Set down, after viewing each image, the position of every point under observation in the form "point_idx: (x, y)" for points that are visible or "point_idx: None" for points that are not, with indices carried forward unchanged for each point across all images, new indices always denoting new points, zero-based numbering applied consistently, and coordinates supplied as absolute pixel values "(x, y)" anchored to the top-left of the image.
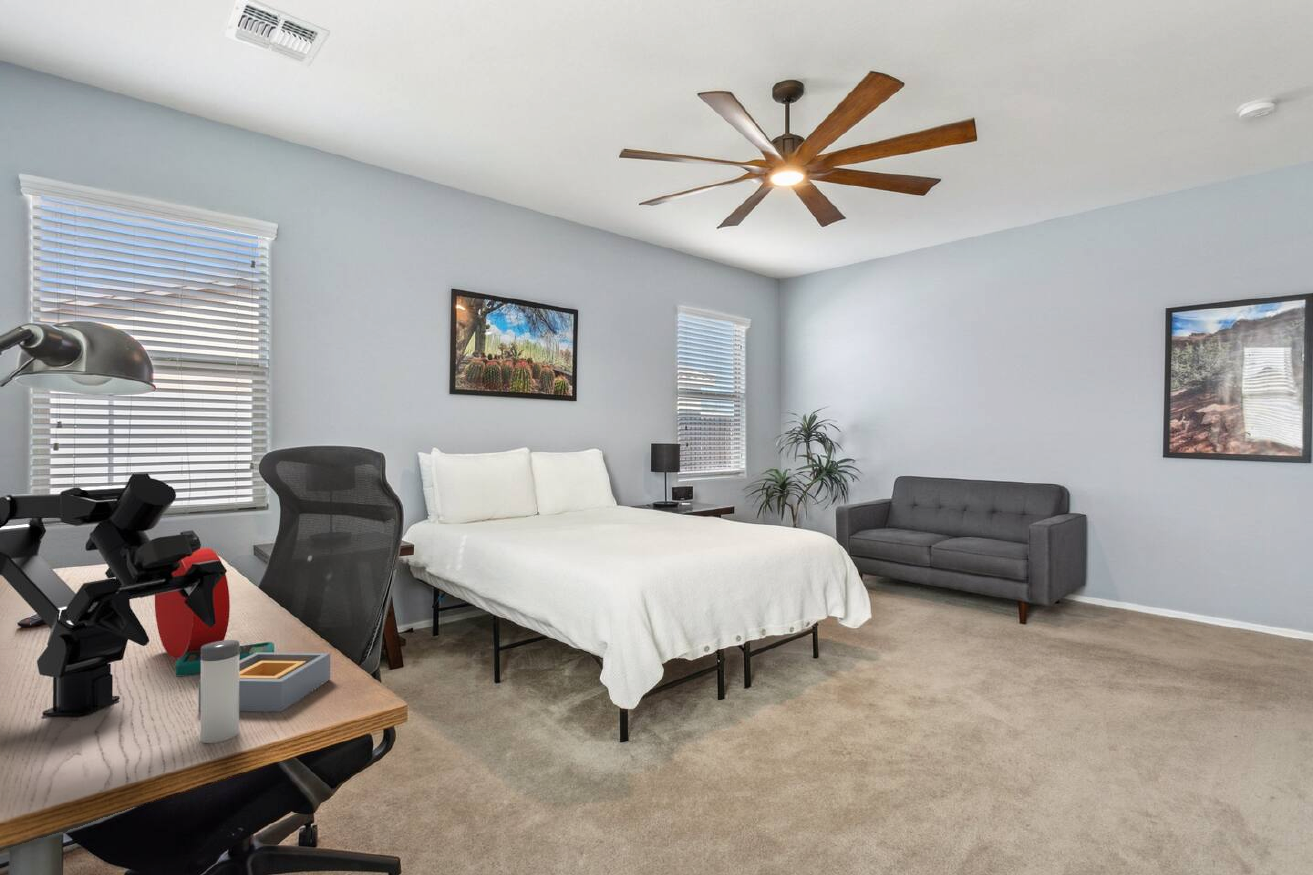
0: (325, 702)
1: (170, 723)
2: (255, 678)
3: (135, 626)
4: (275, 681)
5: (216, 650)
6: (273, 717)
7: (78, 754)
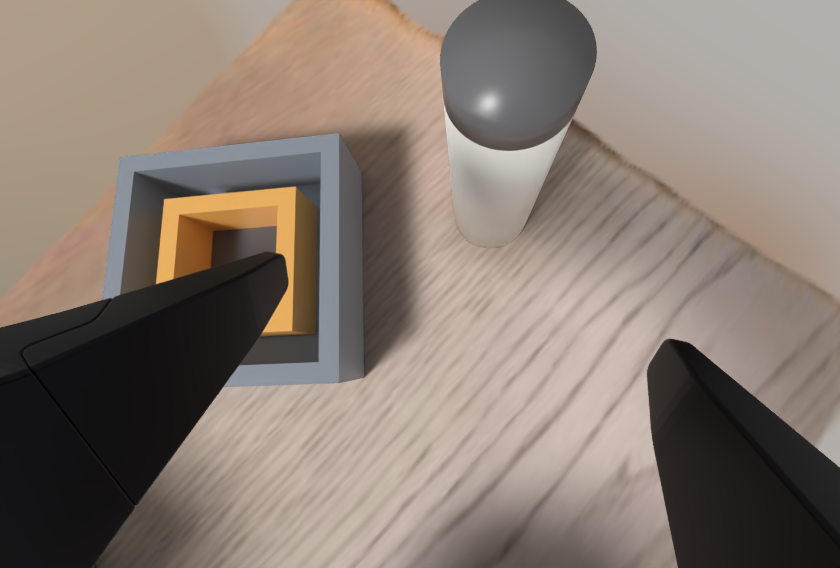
0: (309, 115)
1: (442, 384)
2: (295, 245)
3: (792, 435)
4: (338, 149)
5: (580, 20)
6: (391, 169)
7: (627, 468)
